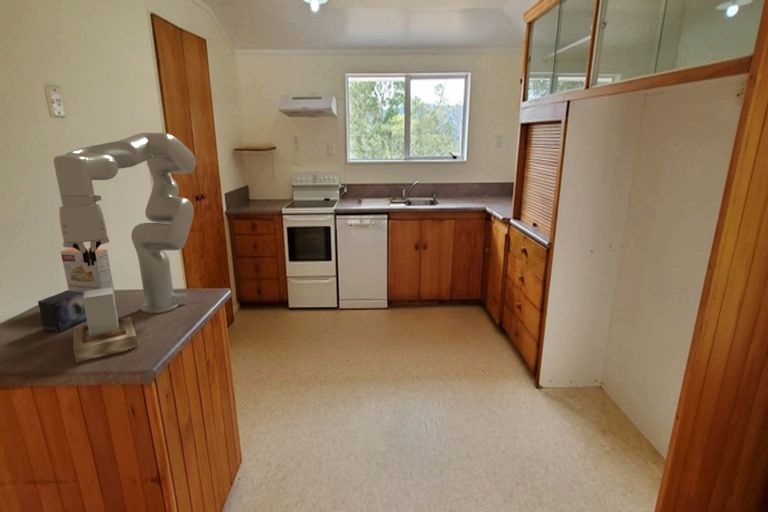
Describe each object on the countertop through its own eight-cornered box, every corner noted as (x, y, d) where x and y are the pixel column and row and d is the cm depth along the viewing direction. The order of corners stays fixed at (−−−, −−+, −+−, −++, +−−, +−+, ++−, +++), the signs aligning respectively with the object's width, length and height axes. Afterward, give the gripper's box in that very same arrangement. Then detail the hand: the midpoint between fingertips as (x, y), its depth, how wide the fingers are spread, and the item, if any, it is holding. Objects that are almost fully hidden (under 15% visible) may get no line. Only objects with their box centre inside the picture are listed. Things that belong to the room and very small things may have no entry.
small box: (59, 333, 131) (53, 303, 128) (43, 331, 132) (35, 301, 129) (89, 320, 141) (83, 291, 138) (73, 318, 142) (67, 289, 139)
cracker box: (70, 305, 153) (59, 250, 147) (83, 299, 159) (73, 246, 153) (104, 307, 151) (94, 252, 145) (116, 301, 157) (107, 248, 151)
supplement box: (119, 333, 123) (112, 293, 119) (89, 339, 119) (81, 298, 116) (119, 324, 129) (113, 286, 125) (91, 329, 125) (83, 290, 122)
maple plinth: (132, 327, 135) (129, 313, 134) (138, 347, 123) (135, 331, 121) (76, 339, 127) (72, 324, 125) (76, 362, 114) (72, 345, 113)
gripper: (110, 197, 120) (120, 257, 125) (44, 201, 112) (58, 265, 117) (112, 200, 114) (122, 263, 120) (43, 205, 106) (58, 272, 111)
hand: (91, 264), depth 118 cm, fingers closed
